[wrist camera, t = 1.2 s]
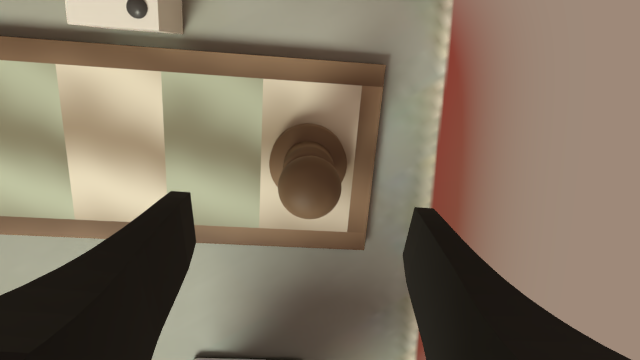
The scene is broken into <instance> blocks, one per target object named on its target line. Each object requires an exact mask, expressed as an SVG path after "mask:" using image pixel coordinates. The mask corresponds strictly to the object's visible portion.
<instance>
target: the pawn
mask: <svg viewBox="0 0 640 360" xmlns="http://www.w3.org/2000/svg"><path fill="white" fill-rule="evenodd" d="M269 169H270V174H271V177H272V179H273V181H274V183H275V184H276V186H277V187H278V194H279V198H280V200H281V202H282V204H283V206H284V207H285V208H286V209H287V210H288V211H289V212H290V213H291V214H293V215H295V216H297V217H299V218H303V219H317V218H320V217H323V216H325V215H327V214H328V213H329V212H330V211H332V210H333V208H334V207H335V206H336V205H337V203H338V201H339V198H340V195H341V183H342V181H343V179H344V177H345V174H346V169H347V158H346V154H345V151H344V148H343V146H342V144H341V142H340V140H339V139H338V138H337V136H336V135H335V134H334V133H333V132H331V131H330V130H329V129H327V128H325V127H323V126H321V125H317V124H311V123H305V124H299V125H295V126H293V127H290V128H289V129H287V130H286V131H284V132H283V133H282V134H281V135H280V136H279V137H278V139H277V140H276V141H275V143H274V145H273V148H272V151H271V155H270V160H269Z"/></svg>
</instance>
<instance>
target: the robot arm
mask: <svg viewBox="0 0 640 360" xmlns="http://www.w3.org/2000/svg"><path fill="white" fill-rule="evenodd" d="M195 244H196V235H195V227H194V218H193V210H192V202H191V194H190V192H180V191H170V192H169V193H168V194H166V195H165V196H164V197H162V198H161V199H160V200H158V201H157V202H156V203H155V204H153V205H152V206H151V207H150V208H148V209H147V210H146V211H144V212H143V213H142V214H140V215H139V216H138V217H137V218H135V219H134V220H133V221H131V222H130V223H129V224H127V225H126V226H125V227H123V228H122V229H120V230H119V231H117V232H116V233H114V234H113V235H112V236H110V237H109V238H107V239H106V240H104V241H103V242H101V243H100V244H98V245H97V246H95V247H94V248H92V249H91V250H89V251H87V252H86V253H84V254H82V255H81V256H79V257H77V258H76V259H74V260H72V261H70V262H69V263H67V264H65V265H63V266H61V267H60V268H58V269H56V270H54V271H52V272H50V273H48V274H46V275H44V276H41V277H39V278H37V279H35V280H33V281H31V282H29V283H27V284H25V285H23V286H21V287H19V288H16V289H14V290H12V291H10V292H7V293H5V294H3V295H0V360H151V359H152V356H153V353H154V350H155V347H156V344H157V341H158V338H159V336H160V333H161V331H162V328H163V326H164V324H165V321H166V319H167V317H168V315H169V312H170V310H171V308H172V306H173V303H174V301H175V299H176V297H177V294H178V292H179V290H180V287H181V285H182V283H183V281H184V278H185V276H186V274H187V271H188V269H189V265H190V262H191V259H192V255H193V252H194V248H195ZM403 260H404V269H405V276H406V283H407V287H408V290H409V294H410V298H411V302H412V306H413V309H414V313H415V317H416V320H417V324H418V328H419V332H420V335H421V339H422V342H423V347H424V351H425V356H426V360H631V359H629V358H627V357H625V356H623V355H621V354H619V353H617V352H615V351H613V350H611V349H609V348H607V347H605V346H603V345H602V344H600V343H598V342H596V341H595V340H593V339H591V338H589V337H588V336H586V335H584V334H582V333H581V332H579V331H577V330H576V329H574V328H572V327H571V326H569V325H568V324H566V323H564V322H563V321H561V320H560V319H558V318H557V317H555V316H554V315H552V314H551V313H549V312H548V311H546V310H545V309H543V308H542V307H540V306H539V305H537V304H536V303H535V302H533V301H532V300H530V299H529V298H528V297H526V296H525V295H524V294H522V293H521V292H520V291H519V290H517V289H516V288H515V287H514V286H512V285H511V284H510V283H509V282H507V281H506V280H505V279H504V278H502V277H501V276H500V275H499V274H498V273H497V272H496V271H495V270H493V269H492V268H491V267H490V266H489V265H488V264H487V263H486V262H485V261H484V260H482V259H481V258H480V257H479V256H478V255H477V254H476V253H475V252H474V251H473V250H472V249H471V248H470V247H469V246H468V245H467V244H466V243H465V242H464V241H463V240H462V239H461V237H460V236H459V235H458V234H457V233H455V231H454V230H453V229H452V228H451V227H450V226H449V225H448V223H447V222H446V221H445V220H444V219H443V218H442V217H441V216H440V215H439V214H438V213H437V212H436V211H435V210H434V209H432V208H417V207H415V208H414V212H413V216H412V220H411V224H410V228H409V232H408V236H407V240H406V244H405V248H404V252H403ZM194 360H264V359H223V358H196V359H194Z"/></svg>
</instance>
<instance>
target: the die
mask: <svg viewBox="0 0 640 360" xmlns="http://www.w3.org/2000/svg"><path fill="white" fill-rule="evenodd" d="M65 6H66V14H67V23H68V24H72V25H81V26H90V27H98V28H107V29H120V30H133V31H146V32H159V33H173V34H183V14H182V0H65Z"/></svg>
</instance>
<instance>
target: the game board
mask: <svg viewBox="0 0 640 360" xmlns="http://www.w3.org/2000/svg"><path fill="white" fill-rule="evenodd" d="M385 68H386V65H382V64H369V63H355V62H342V61H329V60H315V59H302V58H288V57H275V56H262V55H248V54H235V53H221V52H208V51H195V50H181V49H168V48H154V47H141V46H128V45H114V44H101V43H87V42H74V41H61V40H47V39H34V38H20V37H7V36H0V234H6V235H29V236H52V237H75V238H98V239H107V238H109V237H110V236H112V235H113V234H114V233H116V232H117V231H119V230H120V229H122V228H123V227H125V226H126V225H127V224H129V223H130V222H131V221H133V220H134V219H135V218H137V217H138V216H139V215H140V214H142V213H143V212H144V211H146V210H147V209H148V208H150V207H151V206H152V205H153V204H155V203H156V202H157V201H158V200H160V199H161V198H162V197H164V196H165V195H166V194H168V193H169V192H170V191H180V192H190V194H191V202H192V210H193V218H194V227H195V235H196V243H214V244H237V245H260V246H283V247H306V248H329V249H352V250H364V246H365V237H366V229H367V220H368V212H369V204H370V195H371V187H372V178H373V170H374V161H375V153H376V144H377V136H378V127H379V119H380V110H381V102H382V93H383V85H384V76H385ZM305 123H311V124H317V125H321V126H323V127H325V128H327V129H329V130H330V131H331V132H333V133H334V134H335V135H336V136H337V138H338V139H339V140H340V142H341V144H342V146H343V148H344V151H345V154H346V158H347V169H346V174H345V177H344V179H343V181H342V183H341V195H340V198H339V201H338V203H337V205H336V206H335V207H334V208H333V210H332V211H330V212H329V213H328V214H327V215H325V216H323V217H320V218H317V219H303V218H299V217H297V216H295V215H293V214H291V213H290V212H289V211H288V210H287V209H286V208H285V207H284V206H283V204H282V202H281V200H280V198H279V194H278V187H277V186H276V184H275V183H274V181H273V179H272V177H271V174H270V169H269V160H270V155H271V151H272V148H273V145H274V143H275V141H276V140H277V139H278V137H279V136H280V135H281V134H282V133H283V132H284V131H286V130H287V129H289V128H290V127H293V126H295V125H299V124H305Z"/></svg>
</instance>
